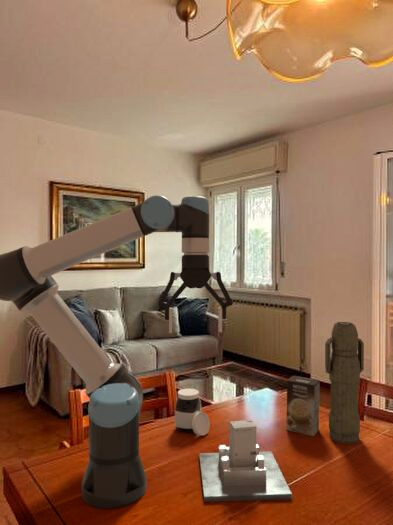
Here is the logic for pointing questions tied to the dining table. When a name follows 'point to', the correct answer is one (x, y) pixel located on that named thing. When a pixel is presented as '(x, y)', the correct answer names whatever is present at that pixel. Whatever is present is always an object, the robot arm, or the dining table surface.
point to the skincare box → (242, 444)
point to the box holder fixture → (241, 478)
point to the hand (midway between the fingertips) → (195, 331)
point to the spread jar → (190, 413)
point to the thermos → (344, 381)
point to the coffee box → (303, 405)
